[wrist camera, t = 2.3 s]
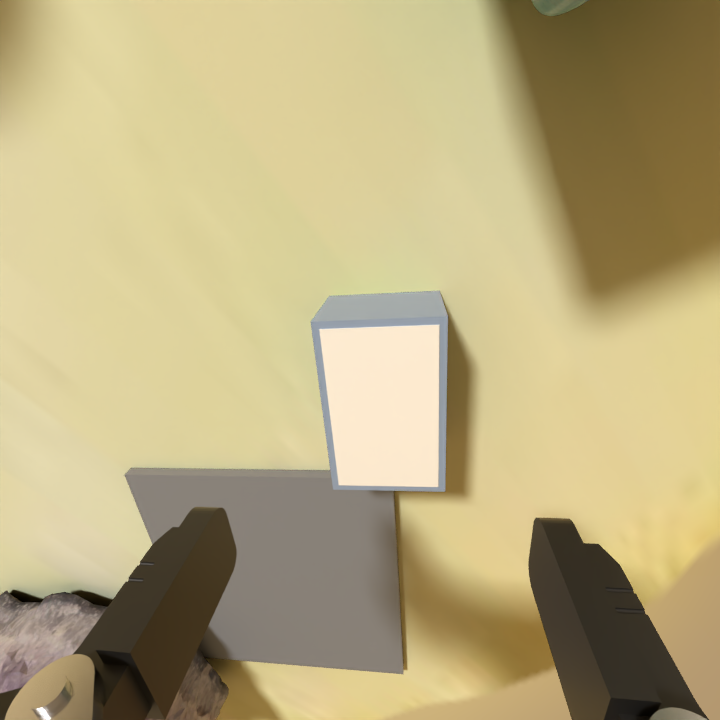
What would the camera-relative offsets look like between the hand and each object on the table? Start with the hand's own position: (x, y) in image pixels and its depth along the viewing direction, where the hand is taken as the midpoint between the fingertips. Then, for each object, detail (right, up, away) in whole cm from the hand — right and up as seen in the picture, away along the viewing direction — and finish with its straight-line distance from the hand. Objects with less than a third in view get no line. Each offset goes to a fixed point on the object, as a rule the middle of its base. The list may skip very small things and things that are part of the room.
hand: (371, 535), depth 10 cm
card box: (+1, +4, +9) cm, 10 cm away
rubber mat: (-6, -10, +16) cm, 20 cm away
